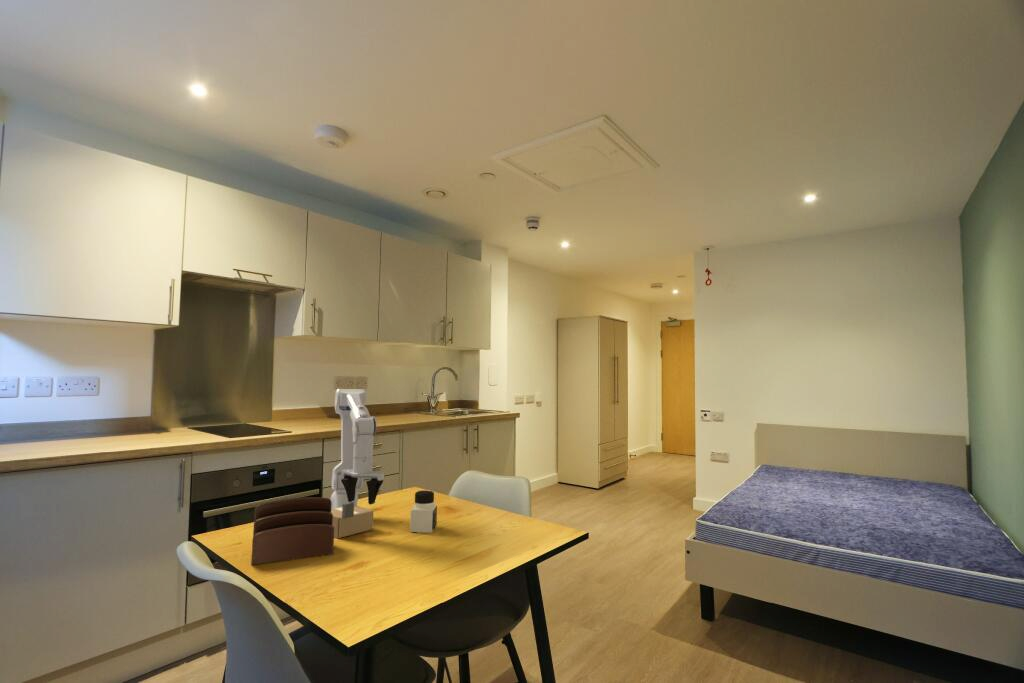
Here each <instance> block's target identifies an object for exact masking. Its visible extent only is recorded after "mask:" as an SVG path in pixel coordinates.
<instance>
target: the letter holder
mask: <svg viewBox="0 0 1024 683" xmlns="http://www.w3.org/2000/svg"><path fill="white" fill-rule="evenodd" d="M330 499H331V498H329V497H318V496H317V497H314V496H313V497H311V496H309V497H293V498H292V497H291V498H283V499H276V500H270V501H266V502H261V503H259V504H257V505H256V506H255V507H254V517H253V518H254V520H253V521H254V522H253V532H252V533H253V534H252V546H251V547H252V548H251V557H250V558H251V562H250V563H251V564H250V565H251V566H257V565H264V564H271V563H278V562H279V561H280V562H286V560H287V561H293V559H295V560H301V559H300V558H302V559H308V557H310V558H315V556H317V557H323V556H322V555H325V556H329V555H328V554H333V555H334V552H335V551H334V549H335V546H334V544H335V537H334V527H333V526H332V524H333V514H332V513H331V506H332V502H331V500H330Z"/></svg>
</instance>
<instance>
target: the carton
mask: <svg viewBox="0 0 1024 683" xmlns="http://www.w3.org/2000/svg"><path fill="white" fill-rule="evenodd" d="M369 511H373V512H374V510H372V509H370V508H366V507H363V506H361V505H358V504H357V505H354V515H355V514H360V513H364V512H369ZM331 513H332V514H333V524H332V526H333V527H334V538H335V537H336V538H335V539H337V538H338V539H340V538H339V519H340V518H342V507H341V508H336V509H333V510H331Z"/></svg>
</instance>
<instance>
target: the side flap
mask: <svg viewBox="0 0 1024 683" xmlns="http://www.w3.org/2000/svg"><path fill="white" fill-rule="evenodd" d="M373 528H374V510H373V511H369V512H364V513H360V514H355V515H354V503H353V502H349V503H344V504H342V518H340V519H339V538H338V539H340V538H345V537H347V536H352V535H356V534H359V533H360V534H361V533H363V532H368V531H372V530H374V529H373Z"/></svg>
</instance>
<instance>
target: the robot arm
mask: <svg viewBox="0 0 1024 683" xmlns="http://www.w3.org/2000/svg"><path fill="white" fill-rule="evenodd" d="M366 402H367V391H366V390H365V389H364V388H361V389H360V388H358V389H357V388H352V389H351V388H347V389H346V388H337V389H336V390H335V393H334V410H335V413H336V414H337V415H339V417H340V427H341V428H340V431H341V432H340V445H341V446H340V463H338V464H337V465H336V466H335V467H333V469H332V475H331V489H332V490H333V493H332V494H331V496H330V498H329V499H330V500H331V502H332V506H331V510H333V509H336V508H341V507H342V504H344V503H349V502H353V503H354V505H357V506H358V504H359V503H358V500H359V498H358V496H359V492H360V490H361V489H362V488H363V486H364V479H367V480H366V487H367V492H368V495H367V496H368V497H367V499H368V500H367V502H368V505H369V506H370V505H373V504H376V499H377V496H378V494H379V491H380V488H381V486H382V484H383V483H384V480H385V473H384V472H381V471H376V470H375V471H374V470H373V466H374V465H373V461H374V457H373V456H374V439H375V438H374V437H375V436H376V433H377V419H376V417H375V416H371V414H370V411H369V409H368V408H367V407H366Z"/></svg>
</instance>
